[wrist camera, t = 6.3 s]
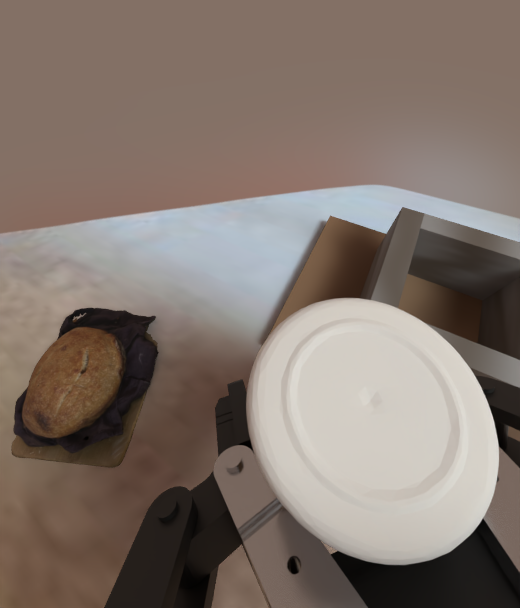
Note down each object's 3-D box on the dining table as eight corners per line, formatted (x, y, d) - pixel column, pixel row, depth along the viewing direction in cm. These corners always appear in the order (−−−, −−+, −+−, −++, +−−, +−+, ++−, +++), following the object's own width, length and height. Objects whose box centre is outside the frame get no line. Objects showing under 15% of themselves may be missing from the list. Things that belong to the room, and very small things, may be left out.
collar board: (264, 346, 19) (265, 315, 14) (327, 223, 25) (343, 171, 20) (575, 495, 15) (731, 524, 10) (564, 303, 20) (659, 261, 15)
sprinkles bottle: (325, 478, 15) (560, 625, 3) (251, 461, 16) (211, 532, 4) (330, 398, 17) (482, 308, 5) (264, 385, 18) (268, 275, 6)
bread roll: (131, 470, 16) (98, 479, 13) (7, 454, 17) (-56, 458, 13) (175, 318, 21) (159, 297, 18) (78, 309, 21) (45, 286, 18)
